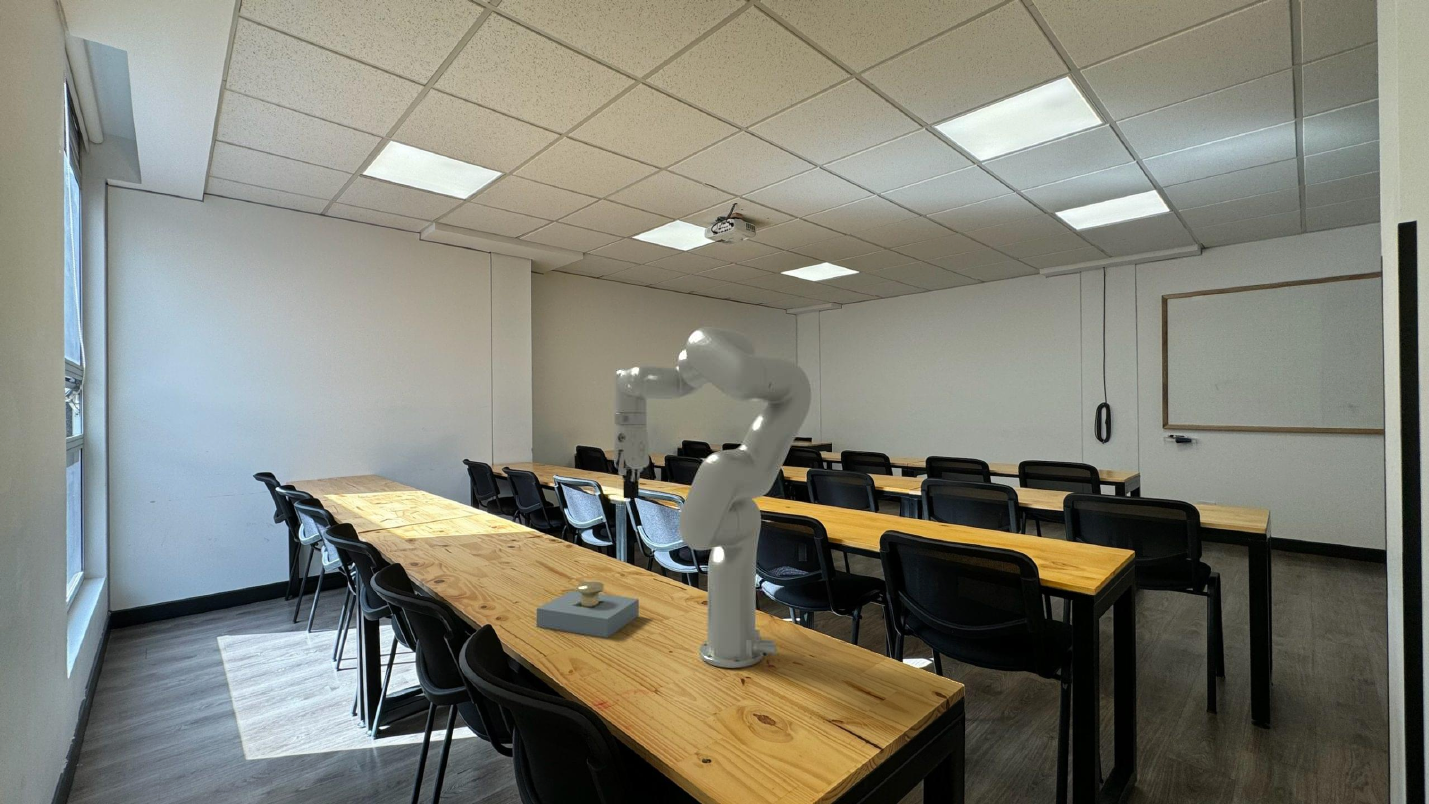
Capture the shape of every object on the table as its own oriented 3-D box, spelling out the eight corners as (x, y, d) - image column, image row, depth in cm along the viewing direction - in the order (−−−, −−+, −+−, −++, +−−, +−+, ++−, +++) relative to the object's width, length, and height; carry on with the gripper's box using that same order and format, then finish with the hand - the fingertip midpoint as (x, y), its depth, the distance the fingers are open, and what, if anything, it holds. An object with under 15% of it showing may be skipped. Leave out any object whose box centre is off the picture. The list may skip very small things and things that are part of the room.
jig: (638, 616, 134) (638, 598, 134) (607, 638, 121) (607, 619, 121) (573, 606, 141) (573, 590, 141) (536, 626, 128) (536, 608, 128)
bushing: (607, 618, 133) (608, 583, 133) (594, 626, 127) (594, 590, 128) (585, 614, 135) (586, 580, 135) (570, 623, 129) (571, 587, 130)
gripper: (630, 420, 129) (631, 502, 128) (657, 420, 143) (658, 494, 143) (601, 421, 131) (601, 501, 131) (630, 420, 146) (630, 493, 145)
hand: (631, 497), depth 137 cm, fingers closed
